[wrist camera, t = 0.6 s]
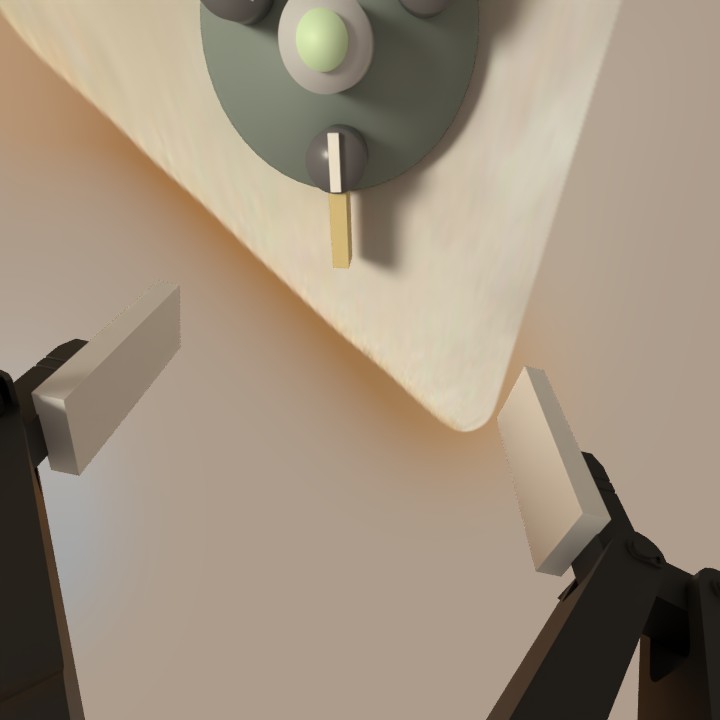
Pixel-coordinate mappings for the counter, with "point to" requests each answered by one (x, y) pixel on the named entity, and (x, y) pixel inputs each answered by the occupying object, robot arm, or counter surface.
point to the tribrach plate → (369, 108)
